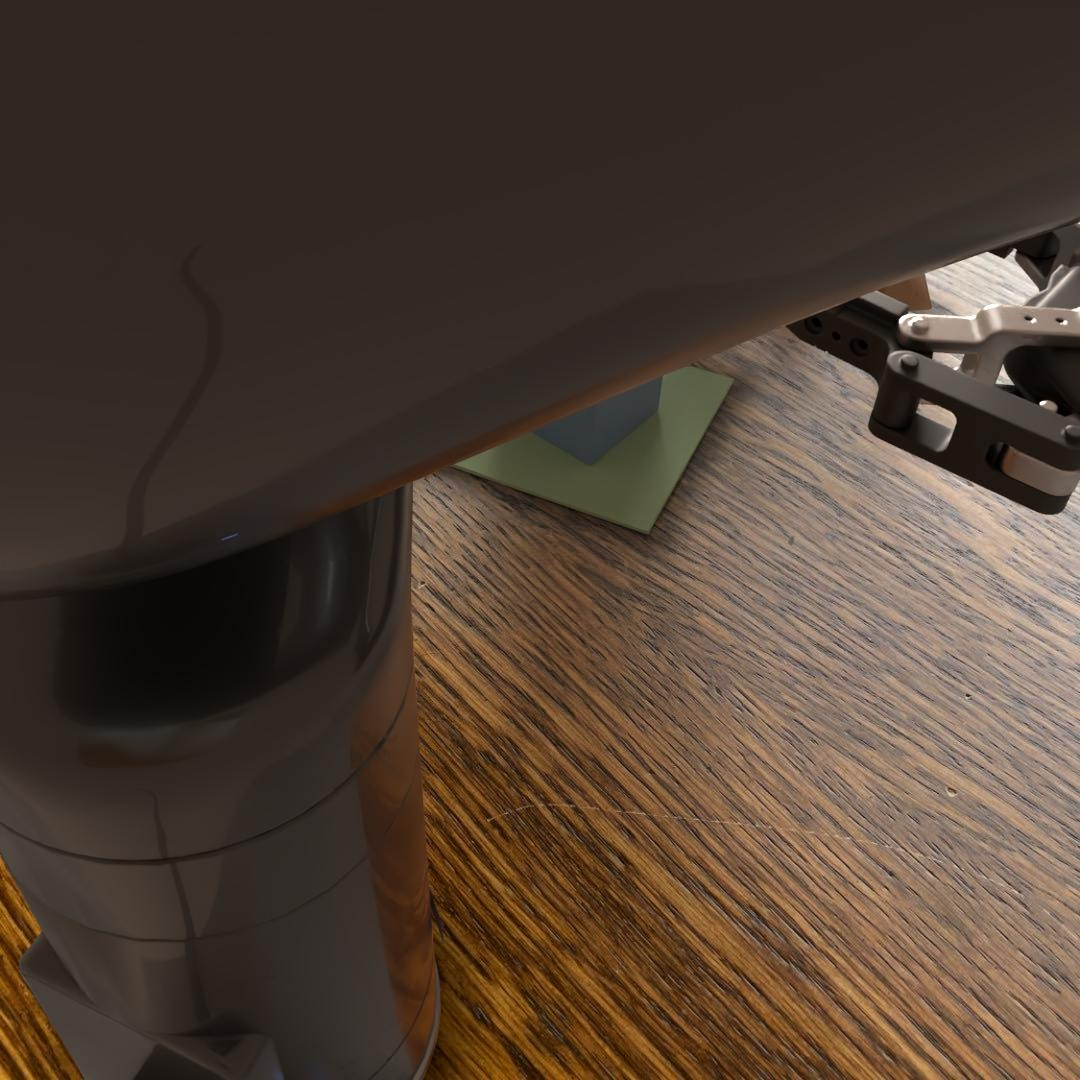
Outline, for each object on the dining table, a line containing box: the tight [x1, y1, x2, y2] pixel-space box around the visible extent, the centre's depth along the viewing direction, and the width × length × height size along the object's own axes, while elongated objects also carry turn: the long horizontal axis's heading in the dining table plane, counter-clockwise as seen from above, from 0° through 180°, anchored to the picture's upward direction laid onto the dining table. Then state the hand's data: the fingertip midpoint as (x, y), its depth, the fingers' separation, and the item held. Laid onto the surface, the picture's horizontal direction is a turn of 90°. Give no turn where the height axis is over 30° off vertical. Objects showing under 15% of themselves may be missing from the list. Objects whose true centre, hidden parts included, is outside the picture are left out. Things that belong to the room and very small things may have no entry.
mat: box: [450, 365, 735, 536], centre depth 57 cm, size 11×11×1 cm
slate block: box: [532, 376, 663, 466], centre depth 53 cm, size 5×5×10 cm
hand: (859, 236), depth 42 cm, fingers open, 8 cm apart
